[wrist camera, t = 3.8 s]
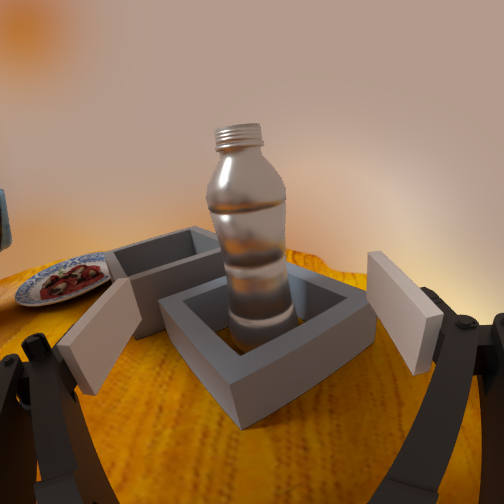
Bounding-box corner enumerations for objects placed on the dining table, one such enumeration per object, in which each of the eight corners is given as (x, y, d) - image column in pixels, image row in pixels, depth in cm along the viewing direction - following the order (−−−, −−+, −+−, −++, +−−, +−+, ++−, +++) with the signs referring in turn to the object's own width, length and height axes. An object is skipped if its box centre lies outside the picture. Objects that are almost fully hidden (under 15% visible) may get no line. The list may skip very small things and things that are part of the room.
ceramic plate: (152, 274, 51) (149, 258, 50) (24, 333, 33) (16, 316, 32) (105, 254, 68) (102, 242, 67) (15, 291, 50) (11, 279, 49)
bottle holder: (169, 339, 30) (157, 300, 29) (279, 293, 38) (275, 257, 36) (241, 430, 18) (229, 384, 17) (374, 341, 26) (378, 296, 24)
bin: (115, 293, 44) (103, 252, 41) (202, 264, 52) (194, 225, 49) (135, 340, 31) (116, 285, 29) (252, 294, 39) (245, 243, 36)
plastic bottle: (251, 376, 24) (211, 124, 17) (223, 339, 30) (187, 136, 23) (312, 349, 26) (296, 118, 20) (277, 319, 32) (255, 128, 26)
